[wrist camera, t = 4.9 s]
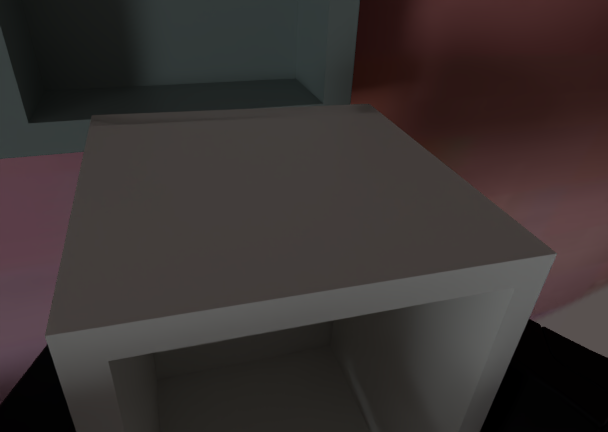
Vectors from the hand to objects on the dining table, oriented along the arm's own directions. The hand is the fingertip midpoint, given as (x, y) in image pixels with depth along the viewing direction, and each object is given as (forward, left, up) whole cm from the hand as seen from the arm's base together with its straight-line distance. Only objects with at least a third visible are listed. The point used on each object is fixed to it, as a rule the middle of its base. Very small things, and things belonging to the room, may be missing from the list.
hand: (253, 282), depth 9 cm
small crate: (0, 0, -1) cm, 1 cm away
